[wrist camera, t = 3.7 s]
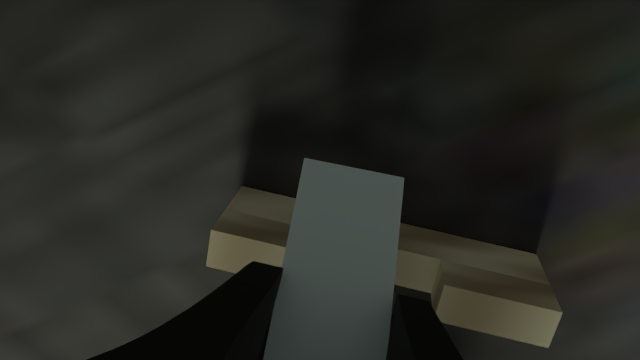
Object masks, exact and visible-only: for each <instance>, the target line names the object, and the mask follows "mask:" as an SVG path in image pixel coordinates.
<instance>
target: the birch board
mask: <svg viewBox="0 0 640 360" xmlns="http://www.w3.org/2000/svg"><path fill="white" fill-rule="evenodd" d="M295 201H296V198H292V197H287V196H283V195H279V194H274V193H270V192H266V191H261V190H257V189H253V188H248V187H244V186H241V188H240V189H239V191H238V192H237V193H236V195H235V196H234V198H233V199H232V201H231V202H230V204H229V205H228V206H227V208H226V209H225V211H224V212H223V214H222V215H221V216H220V218H219V219H218V221H217V222H216V224H215V225H214V226H213V228H212V229H211V235H210V242H209V249H208V256H207V263H206V266H207V267H211V268H215V269H220V270H224V271H228V272H232V273H237V272H239V271H240V270H241V269H242V268H244V267H245V266H246V265H247V264H249V263H251V262H252V261H256V262H260V263H264V264H269V265H273V266H277V267H282V264H283V259H284V254H285V249H286V245H287V240H288V235H289V230H290V225H291V220H292V215H293V210H294V205H295ZM394 285H398V286H402V287H407V288H411V289H415V290H419V291H424V292H428V293H431V301H432V307H433V309H434V311H435V312H436V314H437V316H438V318H439V319H440V321H441V323H445V324H450V325H454V326H458V327H462V328H466V329H470V330H475V331H479V332H483V333H487V334H491V335H495V336H500V337H504V338H508V339H512V340H516V341H521V342H525V343H529V344H533V345H537V346H541V347H546V348H549V345H550V343H551V340H552V338H553V335H554V333H555V331H556V328H557V326H558V323H559V321H560V318H561V316H562V313H563V312H562V310H561V308H560V306H559V303H558V301H557V299H556V297H555V294H554V292H553V290H552V288H551V286H550V283H549V281H548V279H547V277H546V274H545V272H544V270H543V268H542V266H541V263H540V261H539V259H538V257H537V255H536V254H533V253H529V252H525V251H520V250H516V249H512V248H507V247H503V246H499V245H494V244H490V243H486V242H482V241H477V240H473V239H469V238H464V237H460V236H456V235H451V234H447V233H443V232H438V231H434V230H430V229H425V228H421V227H417V226H412V225H408V224H404V223H400V230H399V240H398V251H397V261H396V271H395V282H394Z"/></svg>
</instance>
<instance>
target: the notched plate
mask: <svg viewBox="0 0 640 360" xmlns="http://www.w3.org/2000/svg"><path fill="white" fill-rule="evenodd" d="M403 188H404V178H403V177H398V176H393V175H388V174H383V173H378V172H373V171H368V170H363V169H358V168H353V167H348V166H343V165H338V164H333V163H328V162H323V161H318V160H313V159H308V158H304V161H303V166H302V171H301V176H300V181H299V186H298V191H297V196H296V201H295V205H294V210H293V215H292V220H291V225H290V230H289V235H288V240H287V245H286V249H285V254H284V259H283V264H282V268H283V273H282V278H281V282H280V285H279V289H278V293H277V296H276V300H275V304H274V308H273V313H272V318H271V323H270V328H269V333H268V338H267V342H266V347H265V352H264V357H263V360H386V355H387V349H388V343H389V334H390V324H391V313H392V303H393V292H394V282H395V271H396V261H397V251H398V240H399V230H400V219H401V209H402V199H403Z"/></svg>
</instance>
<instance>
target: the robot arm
mask: <svg viewBox="0 0 640 360" xmlns="http://www.w3.org/2000/svg"><path fill="white" fill-rule="evenodd" d="M282 273H283V268H282V267H277V266H273V265H269V264H264V263H260V262H256V261H252V262H251V263H249V264H247V265H246V266H245V267H244V268H242V269H241V270H240V271H239V272H237V273H236V274H235V275H234V276H233V277H231V278H230V279H229V280H228V281H226V282H225V283H224V284H222V285H221V286H220V287H218V288H217V289H216V290H214V291H213V292H212V293H210V294H209V295H207V296H206V297H205V298H203V299H202V300H200V301H199V302H197V303H196V304H195V305H193V306H192V307H190V308H189V309H187V310H186V311H184V312H182V313H181V314H179V315H177V316H176V317H174V318H173V319H171V320H169V321H168V322H166V323H164V324H163V325H161V326H159V327H158V328H156V329H154V330H152V331H150V332H149V333H147V334H145V335H143V336H141V337H139V338H137V339H135V340H133V341H131V342H128V343H126V344H124V345H122V346H120V347H118V348H115V349H113V350H110V351H108V352H105V353H103V354H100V355H97V356H95V357H92V358H89V359H87V360H263V357H264V352H265V347H266V342H267V338H268V333H269V328H270V323H271V318H272V313H273V308H274V304H275V300H276V296H277V293H278V289H279V285H280V282H281V278H282ZM386 360H464V359H463V358H462V356H461V355H460V353H459V352H458V350H457V348H456V347H455V345H454V343H453V342H452V340H451V338H450V337H449V335H448V333H447V332H446V330H445V328H444V326H443V325H442V323H441V321H440V319H439V318H438V316H437V314H436V312H435V311H434V309H433V307H432V306H431V304H430V302H429V301H425V300H420V299H416V298H412V297H407V296H403V295H399V294H398V295H397V299H396V303H395V306H394V310H393V314H392V317H391V324H390V334H389V343H388V349H387V355H386Z"/></svg>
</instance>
